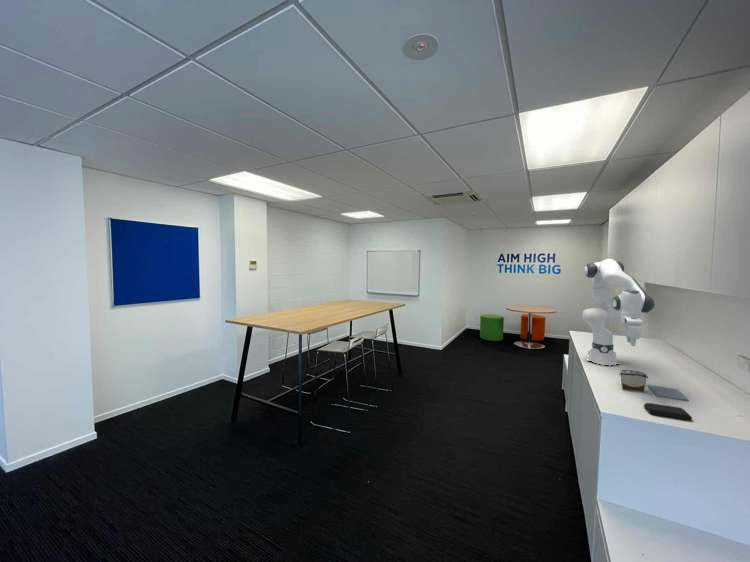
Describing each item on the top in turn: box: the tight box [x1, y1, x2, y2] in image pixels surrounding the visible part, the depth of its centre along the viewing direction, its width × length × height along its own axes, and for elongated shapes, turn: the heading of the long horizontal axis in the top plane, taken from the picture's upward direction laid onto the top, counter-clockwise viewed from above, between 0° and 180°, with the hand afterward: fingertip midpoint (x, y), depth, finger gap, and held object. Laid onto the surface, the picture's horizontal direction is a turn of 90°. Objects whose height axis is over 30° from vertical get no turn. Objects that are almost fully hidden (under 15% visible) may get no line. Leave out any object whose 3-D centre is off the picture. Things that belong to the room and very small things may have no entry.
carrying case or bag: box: [643, 402, 693, 421], centre depth 137 cm, size 11×3×15 cm
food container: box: [618, 369, 649, 393], centre depth 164 cm, size 12×6×10 cm, turn 66°
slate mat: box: [647, 384, 690, 402], centre depth 158 cm, size 15×12×1 cm
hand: (631, 343), depth 164 cm, fingers open, 8 cm apart
